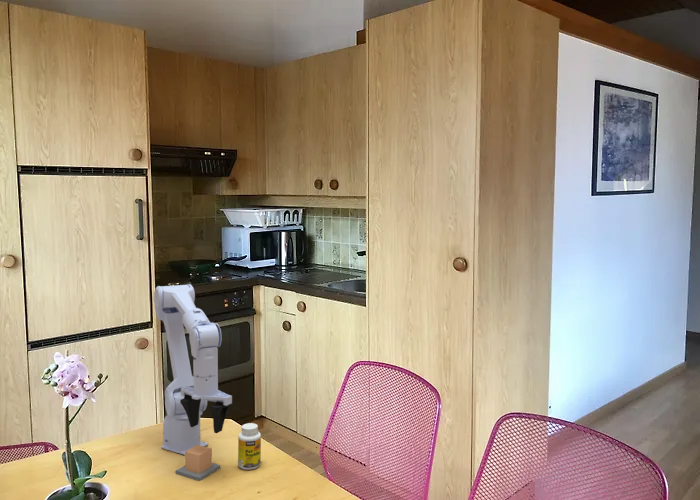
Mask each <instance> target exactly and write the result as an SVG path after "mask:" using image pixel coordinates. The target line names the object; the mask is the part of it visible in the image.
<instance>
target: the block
mask: <svg viewBox="0 0 700 500" xmlns="http://www.w3.org/2000/svg"><path fill="white" fill-rule="evenodd" d="M212 463H213V448H210V447H208V446H201V445H196V446H194V447H193V448H191V449H189V450H187V451H185V455H184V466H185V470H189V471H192V472H195V473H198V474H200V473H201V472H203V471H205V470H206V469H208V468H210V467H212Z"/></svg>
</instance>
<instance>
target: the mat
mask: <svg viewBox="0 0 700 500" xmlns="http://www.w3.org/2000/svg"><path fill="white" fill-rule="evenodd" d="M221 467H222V466H221V464H219V463H214V462H212V467H210V468H208V469H206V470H205V471H203V472H201V473H200V474H198V473H195V472H192V471H189V470H185V465H182V466H181V467H179V468H177V469H176V470H175V474H176V475H178V476H183V477H185V478H189V479H191V480H194V481H195V480H196V481H199V482H201V481H202V480H203V479H205V478H207V477H209V476H210V475H211V474H214V473H215V472H217V471H219V470H221Z"/></svg>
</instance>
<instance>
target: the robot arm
mask: <svg viewBox="0 0 700 500" xmlns="http://www.w3.org/2000/svg"><path fill="white" fill-rule="evenodd" d="M195 292H196V291H195V288H194V286H193V285H192V284H190V283H187V284H180V285H179V284H177V285H176V284H175V285H164V286H163V285H161V286H160V285H157V286H156V288H155V289H154V293H153V303H154V309H155V314H156V317H157V319H158V320H160V321H162V322H163V325H164V330H165V334H166V335H165V336H166V338H167V339H166V340H167V346H168V352H169V358H170V365H171V370H172V377H173V380H172V382H170V383H169V384H168V386H166V387H165V391H164V405H165V411H166V415H165V417H164V420H163V423H162V440H163V441H162V445H161V446H160V448H161V449H162V450H167V451H170V452H173V453H177V454H180V455H184V456H185V451H187V450H189V449H191V448H193V447H194V446H196V445H201V446H204V447H207V446H208V442H205V441H202V440H201V416H203V412H204V411H205V410H206V409H207V406H208V402H212V403H213V402H214V404H212V405H210V406H209V409H210V412H211V415H212V421H213V422H212V423H213V425H212V426H213V432H214V434H218V433H220V432H222V431H223V428H224V424H225V420H226V417H227V414H228V413H229V411H230V408H231V407H232V404H233V395H230V394H228V393H225V392H224V391H221V390H220V389H219V379H218V377H219V373H218V371H219V365H218V364H219V362H218V361H219V360H218V359H219V358H218V357H219V354H218V352H219V349H218V348H219V347H221V345H222V340H223V339H222V330H221V328H220V325H219V324H218V323H217V322H211V321H210V320H209V318H208V317H207V315H206V314H205V312H204V311H203V310H202V309H201V308H199V307H197V306H196V305H195V300H196V294H195ZM185 329H186V331H187V333H188V334H189V345H190V350H191V351H190V352H191V356H192V357H193V361H192V362H193V364H192V365H193V366H192V367H191V364H190V357H189V351H188V345H187V340H186V336H185V335H186V334H185ZM191 368H193V371H192V369H191ZM192 372H193V373H192Z"/></svg>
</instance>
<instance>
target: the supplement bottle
mask: <svg viewBox="0 0 700 500" xmlns="http://www.w3.org/2000/svg"><path fill="white" fill-rule="evenodd" d="M240 431H241V432H239V434H238V436H237V437H238V438H237V439H238V443H237V444H238V445H237V446H238V449H237V450H238V451H237V453H238V454H237V455H238V456H237V458H238V459H237V465H238V467H239V468H240V469H242V470H249V471H250V470H251V471H252V470H255V469H257V468H258V467H260V465H261V458H262V457H261V455H262V447H261V445H262V434H261V432H260V431H259V426H258V424H256V423H254V422H251V423H250V422H248V423H245V424H243V425H242V426H241V430H240Z"/></svg>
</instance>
